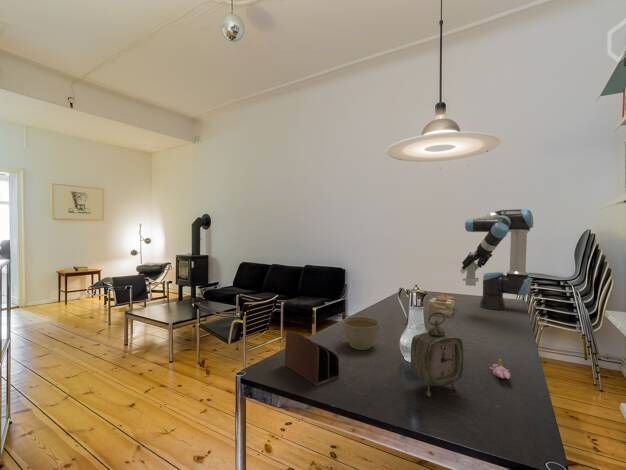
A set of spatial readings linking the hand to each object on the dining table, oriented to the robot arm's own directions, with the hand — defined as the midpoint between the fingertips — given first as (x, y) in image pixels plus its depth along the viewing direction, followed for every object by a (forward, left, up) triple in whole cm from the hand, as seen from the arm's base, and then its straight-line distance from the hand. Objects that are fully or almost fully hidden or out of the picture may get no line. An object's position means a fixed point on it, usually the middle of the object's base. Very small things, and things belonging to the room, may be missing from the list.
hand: (466, 272), depth 192 cm
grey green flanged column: (+3, +2, -7) cm, 8 cm away
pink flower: (+84, +15, -26) cm, 89 cm away
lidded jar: (-10, -13, -26) cm, 31 cm away
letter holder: (+113, -45, -26) cm, 125 cm away
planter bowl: (+81, -38, -26) cm, 93 cm away
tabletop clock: (+105, -4, -26) cm, 108 cm away
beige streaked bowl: (+5, -14, -26) cm, 30 cm away
